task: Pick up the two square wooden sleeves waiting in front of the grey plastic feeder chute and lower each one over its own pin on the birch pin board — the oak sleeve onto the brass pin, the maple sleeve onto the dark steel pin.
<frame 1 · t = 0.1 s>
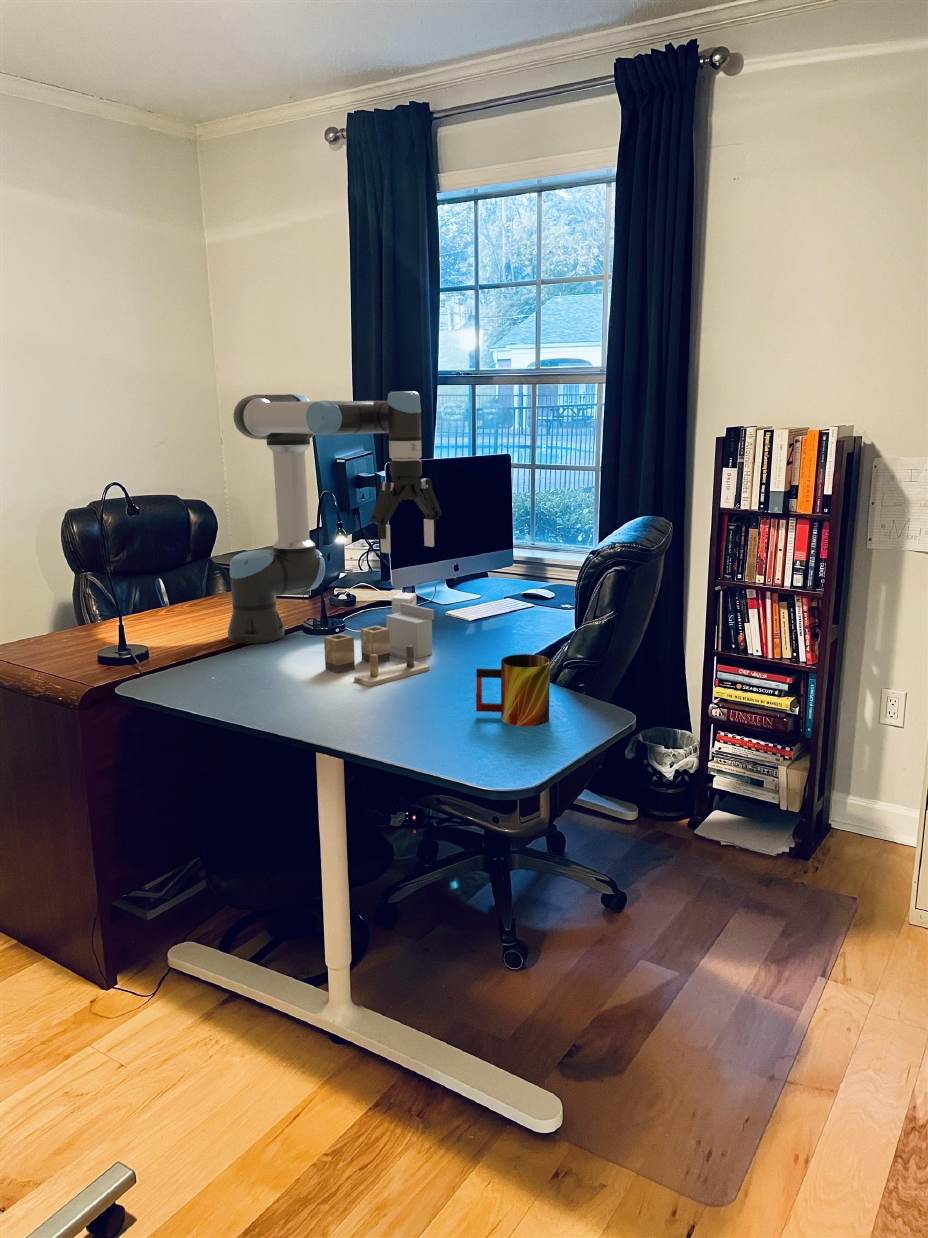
hand: (407, 549, 215), 28 cm above the table, fingers open, 13 cm apart
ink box: (405, 638, 245), on the table
feeder chute: (409, 651, 230), on the table
sleeve a: (340, 669, 215), on the table
pin board: (392, 675, 210), on the table
mug: (515, 720, 180), on the table
sleeve b: (375, 660, 222), on the table
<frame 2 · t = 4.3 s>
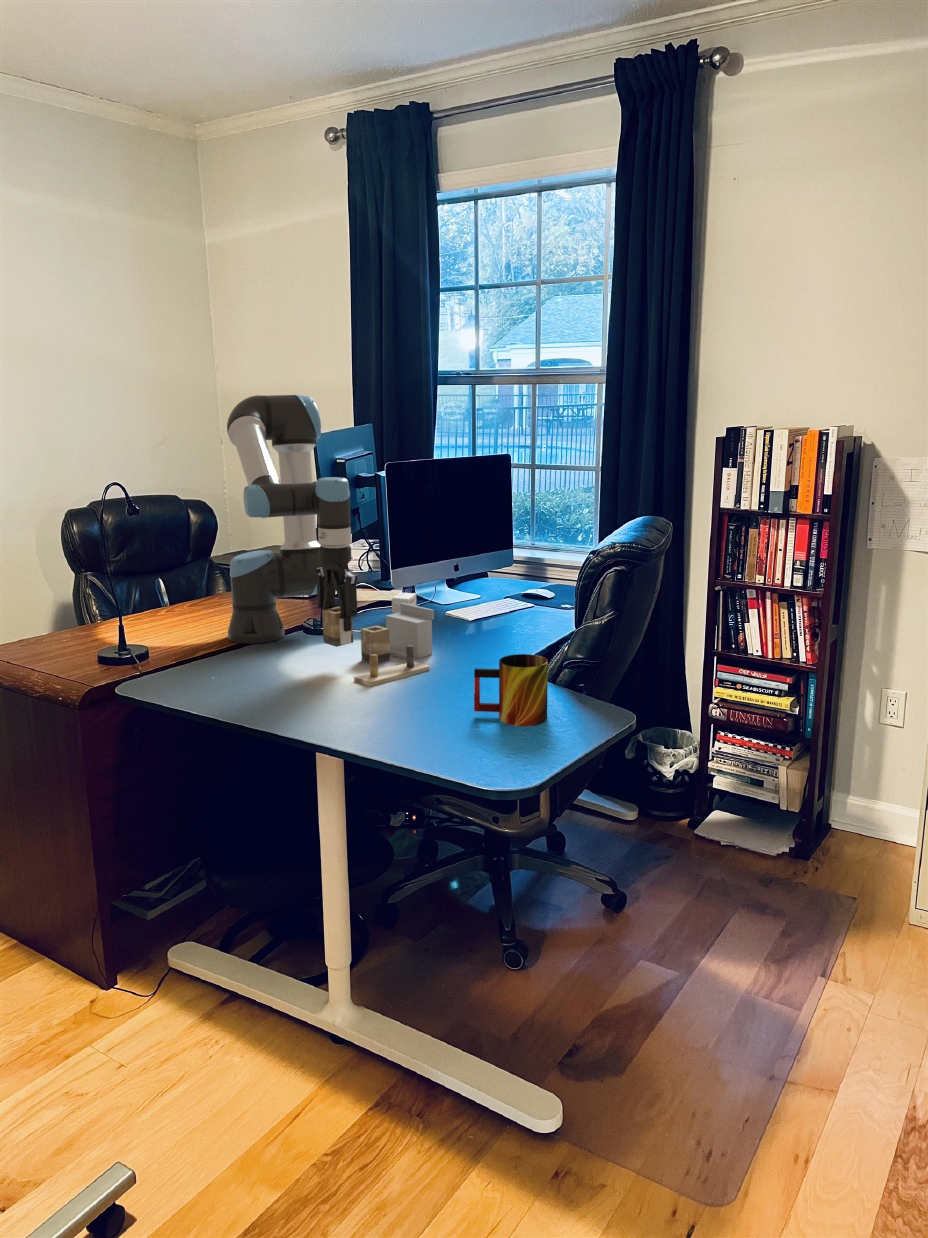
hand: (338, 641, 214), 7 cm above the table, fingers closed on sleeve a, 5 cm apart
sleeve a: (338, 642, 214), point 6 cm above the table, touching gripper
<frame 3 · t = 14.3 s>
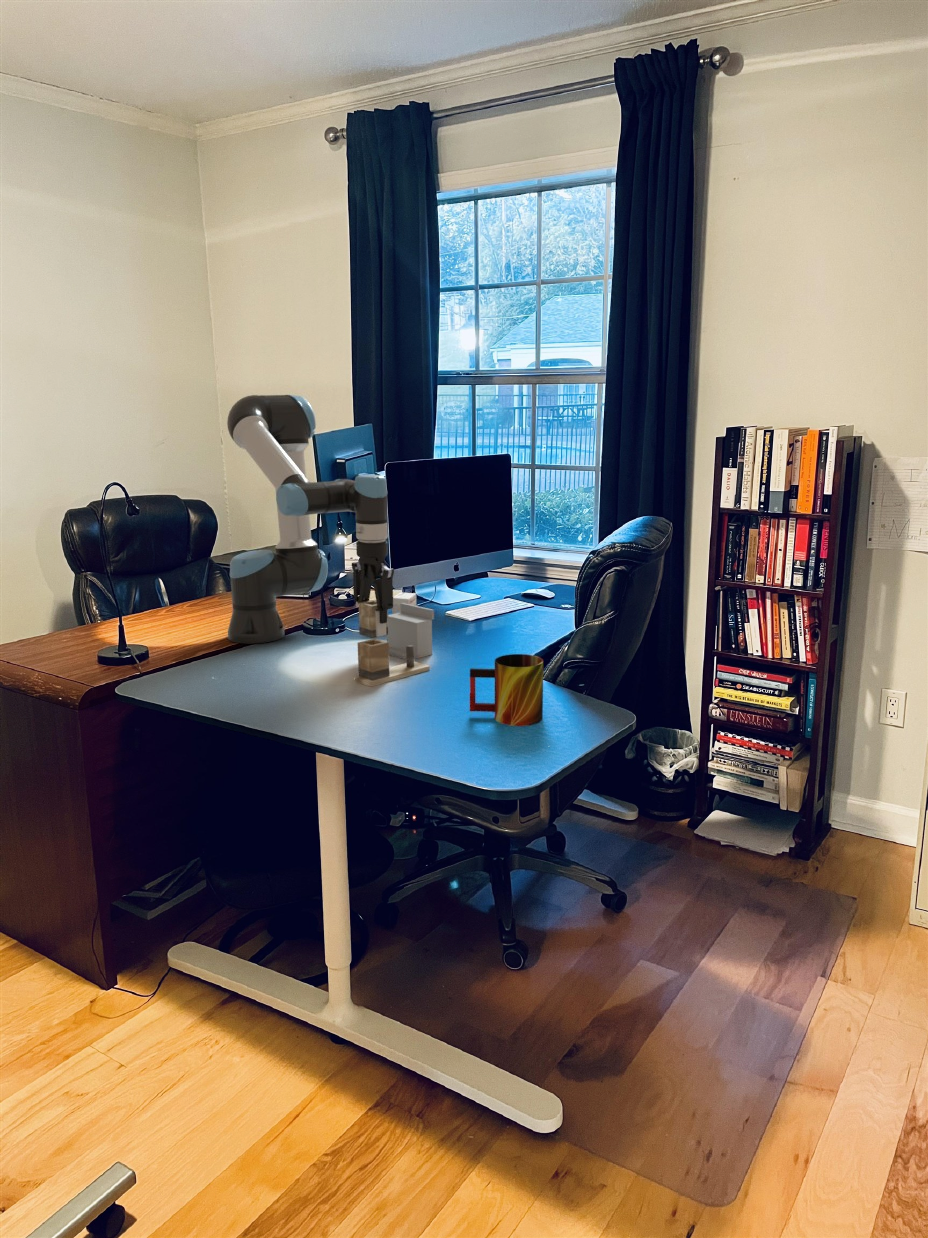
hand: (373, 633, 221), 7 cm above the table, fingers closed on sleeve b, 5 cm apart
sleeve a: (374, 676, 206), point 1 cm above the table, touching pin board
sleeve b: (373, 634, 221), point 6 cm above the table, touching gripper
when the fingers open (3 cm above the table, at t = 18.7 s): sleeve b drops 1 cm, resting on pin board.
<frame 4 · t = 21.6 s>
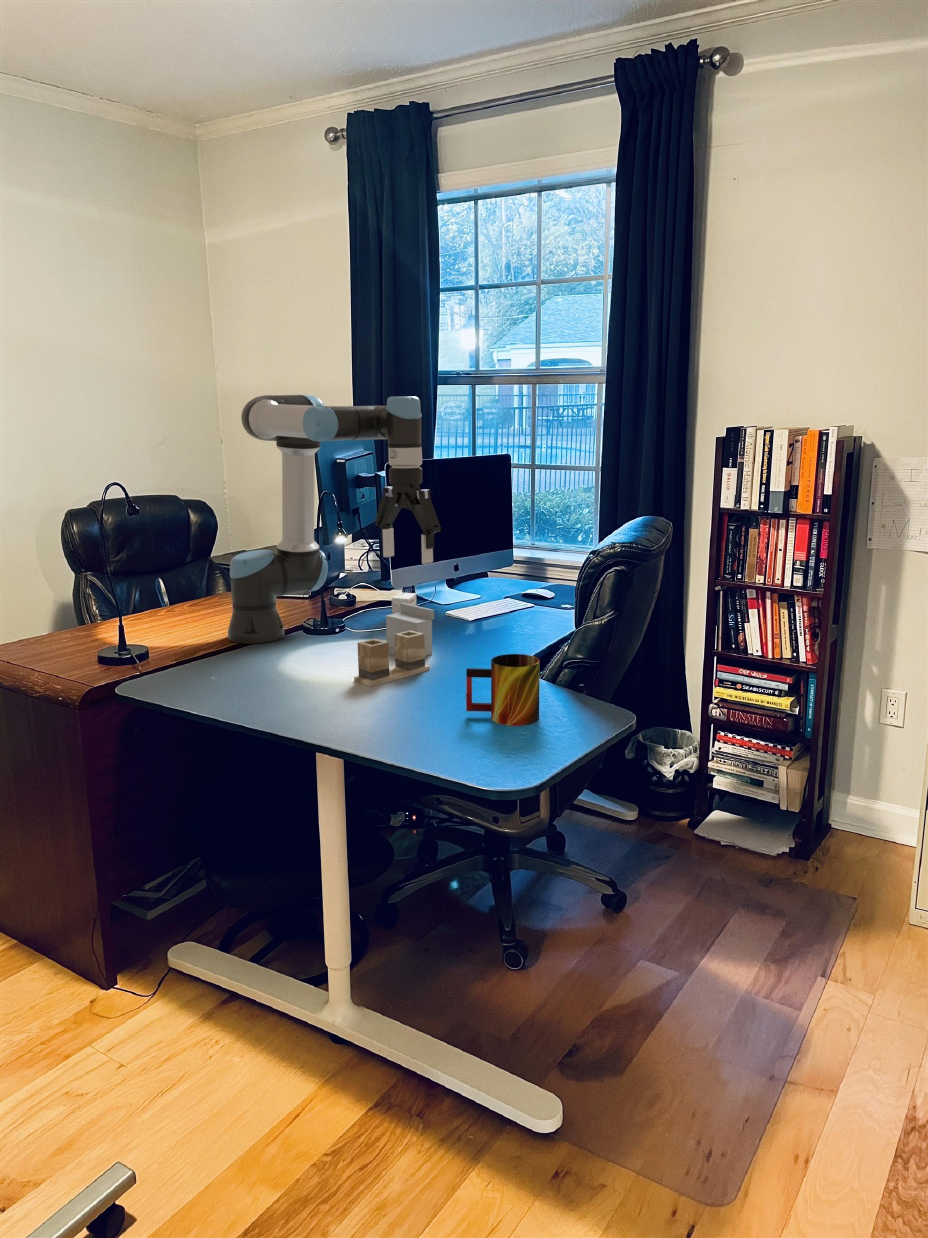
hand: (407, 559, 207), 27 cm above the table, fingers open, 13 cm apart
sleeve b: (410, 666, 213), point 1 cm above the table, touching pin board
at the end: sleeve a 0.1 cm from the target spot on the pin board, point 1.0 cm above the pin board's base; sleeve b 0.1 cm from the target spot on the pin board, point 1.0 cm above the pin board's base; sleeve b tilted 0° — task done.
